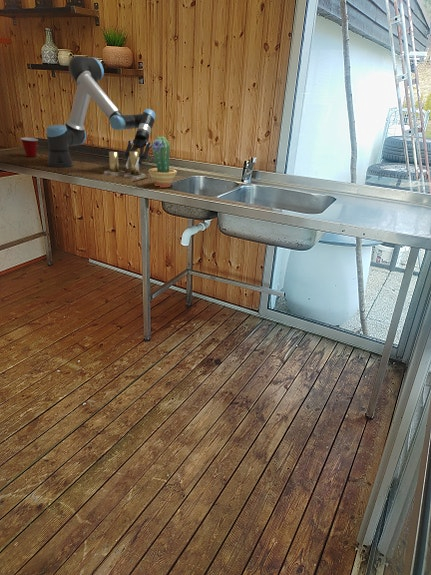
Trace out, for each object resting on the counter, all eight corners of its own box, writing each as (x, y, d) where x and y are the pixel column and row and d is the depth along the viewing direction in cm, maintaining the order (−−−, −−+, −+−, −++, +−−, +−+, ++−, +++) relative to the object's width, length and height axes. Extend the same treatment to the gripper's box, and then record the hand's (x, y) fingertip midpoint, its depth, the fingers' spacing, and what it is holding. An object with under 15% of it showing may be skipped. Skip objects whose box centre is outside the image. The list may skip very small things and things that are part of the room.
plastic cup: (36, 158, 269) (34, 139, 263) (20, 157, 268) (17, 138, 263) (43, 156, 278) (40, 137, 273) (27, 155, 278) (24, 136, 273)
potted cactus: (143, 183, 218) (142, 135, 207) (167, 181, 227) (167, 134, 215) (156, 189, 207) (156, 138, 196) (182, 187, 216) (183, 138, 205)
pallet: (100, 176, 228) (100, 171, 227) (115, 173, 240) (115, 168, 239) (134, 182, 220) (133, 177, 219) (148, 178, 232) (148, 173, 230)
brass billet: (128, 173, 225) (127, 151, 220) (133, 172, 229) (132, 150, 224) (135, 174, 223) (135, 152, 218) (141, 173, 227) (140, 151, 222)
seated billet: (108, 173, 231) (107, 152, 225) (113, 172, 235) (112, 151, 230) (115, 174, 229) (114, 153, 224) (120, 173, 233) (119, 152, 228)
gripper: (159, 139, 230) (148, 173, 223) (130, 137, 234) (119, 170, 226) (155, 130, 223) (144, 165, 216) (126, 128, 227) (114, 162, 219)
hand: (131, 167), depth 221 cm, fingers closed on brass billet, 5 cm apart
